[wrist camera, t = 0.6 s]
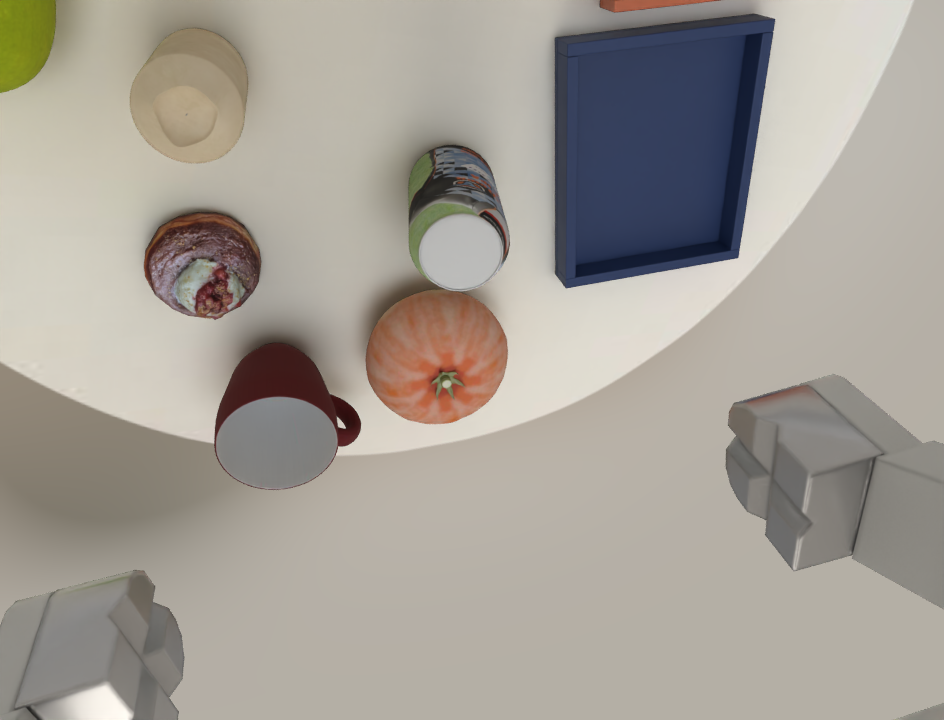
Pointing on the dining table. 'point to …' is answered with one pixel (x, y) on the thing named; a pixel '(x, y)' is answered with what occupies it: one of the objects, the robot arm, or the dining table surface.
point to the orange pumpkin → (436, 356)
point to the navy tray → (655, 145)
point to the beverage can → (456, 219)
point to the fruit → (24, 39)
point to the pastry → (202, 264)
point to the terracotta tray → (643, 4)
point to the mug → (280, 420)
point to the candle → (191, 96)
